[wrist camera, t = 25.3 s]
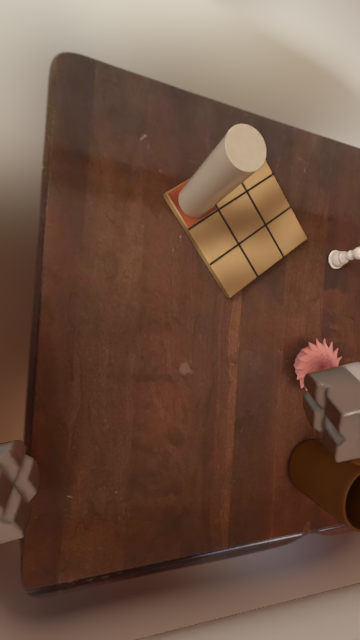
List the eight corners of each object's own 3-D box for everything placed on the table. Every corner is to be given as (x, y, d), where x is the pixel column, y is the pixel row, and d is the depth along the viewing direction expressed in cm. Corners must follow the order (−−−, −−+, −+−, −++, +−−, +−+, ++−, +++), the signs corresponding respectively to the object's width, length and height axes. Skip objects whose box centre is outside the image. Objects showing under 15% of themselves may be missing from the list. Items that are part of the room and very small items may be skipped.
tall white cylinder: (171, 194, 35) (216, 135, 24) (197, 178, 36) (251, 115, 25) (190, 223, 36) (241, 180, 25) (214, 207, 37) (274, 159, 26)
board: (162, 196, 36) (165, 192, 35) (250, 143, 40) (255, 139, 39) (226, 298, 39) (230, 297, 38) (302, 240, 43) (308, 238, 42)
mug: (291, 407, 42) (347, 430, 34) (332, 407, 45) (395, 429, 36) (284, 492, 42) (339, 538, 33) (326, 487, 45) (388, 529, 36)
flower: (313, 398, 44) (346, 408, 38) (271, 382, 41) (299, 391, 36) (329, 347, 45) (362, 351, 39) (287, 328, 42) (317, 330, 37)
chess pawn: (329, 271, 45) (359, 265, 40) (325, 252, 44) (355, 244, 40) (343, 266, 45) (374, 260, 41) (339, 248, 45) (370, 240, 40)
